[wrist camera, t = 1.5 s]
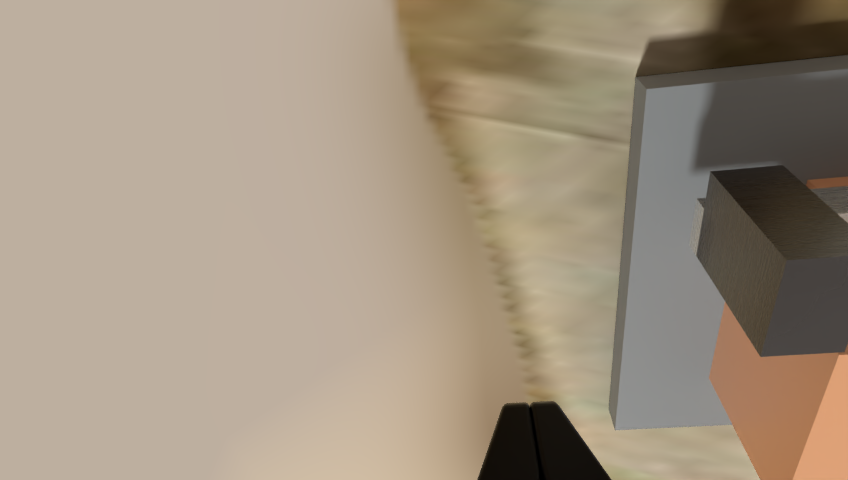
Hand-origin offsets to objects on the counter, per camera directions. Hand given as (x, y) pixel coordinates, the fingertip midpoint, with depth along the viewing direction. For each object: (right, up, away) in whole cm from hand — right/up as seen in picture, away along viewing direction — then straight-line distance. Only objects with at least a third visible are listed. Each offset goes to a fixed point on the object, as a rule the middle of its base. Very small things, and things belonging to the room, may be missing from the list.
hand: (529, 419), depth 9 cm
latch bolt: (+10, +4, +5) cm, 12 cm away
